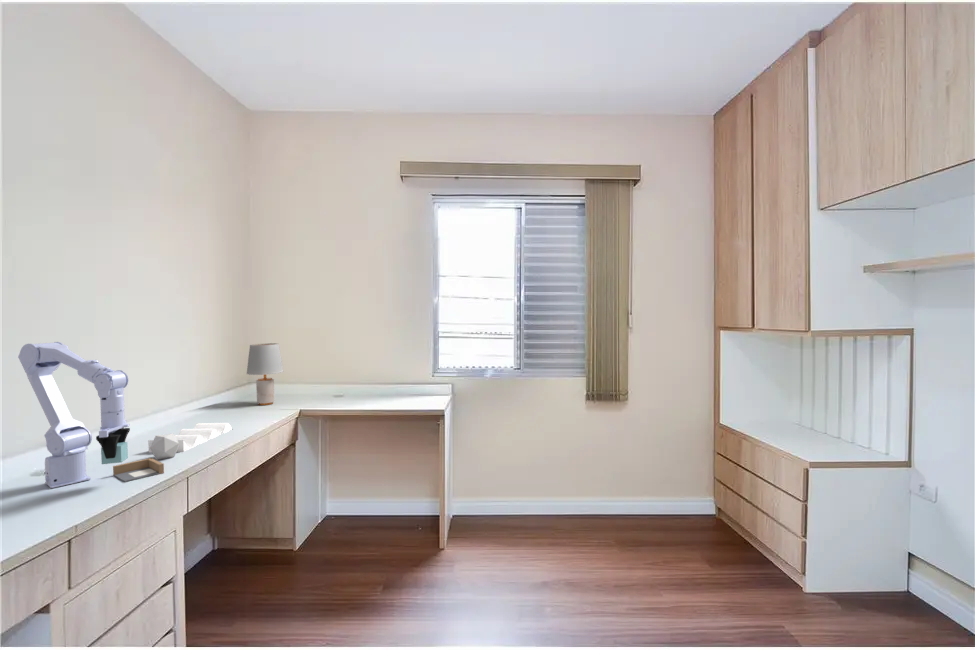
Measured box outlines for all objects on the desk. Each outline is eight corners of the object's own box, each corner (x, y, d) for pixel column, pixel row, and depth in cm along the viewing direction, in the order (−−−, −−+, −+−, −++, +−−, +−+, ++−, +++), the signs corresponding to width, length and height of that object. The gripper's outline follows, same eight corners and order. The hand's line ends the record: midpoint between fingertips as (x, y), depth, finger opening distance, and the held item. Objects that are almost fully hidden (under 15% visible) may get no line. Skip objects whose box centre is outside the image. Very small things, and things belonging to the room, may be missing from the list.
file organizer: (233, 430, 217) (233, 419, 217) (183, 453, 182) (183, 439, 182) (204, 431, 217) (203, 419, 217) (148, 454, 182) (148, 440, 182)
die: (181, 454, 181) (163, 433, 180) (188, 445, 176) (170, 424, 175) (158, 468, 174) (140, 447, 173) (166, 460, 169) (147, 438, 168)
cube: (121, 462, 147) (120, 446, 147) (101, 464, 145) (101, 447, 145) (127, 457, 152) (127, 441, 152) (108, 459, 150) (108, 443, 150)
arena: (124, 482, 149) (124, 472, 149) (113, 475, 156) (113, 466, 156) (163, 472, 157) (163, 463, 157) (151, 466, 164) (151, 457, 164)
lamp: (290, 401, 284) (289, 343, 283) (271, 407, 266) (269, 345, 265) (261, 400, 288) (259, 343, 287) (240, 406, 269) (238, 345, 268)
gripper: (118, 414, 142) (120, 460, 143) (137, 405, 156) (138, 447, 157) (89, 416, 140) (91, 463, 141) (110, 407, 154) (112, 450, 154)
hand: (114, 455), depth 148 cm, fingers closed on cube, 5 cm apart
